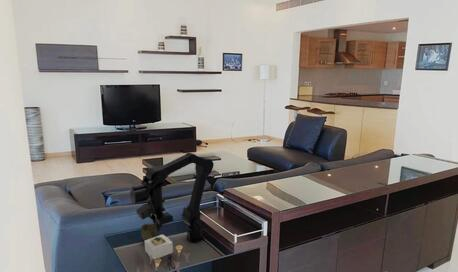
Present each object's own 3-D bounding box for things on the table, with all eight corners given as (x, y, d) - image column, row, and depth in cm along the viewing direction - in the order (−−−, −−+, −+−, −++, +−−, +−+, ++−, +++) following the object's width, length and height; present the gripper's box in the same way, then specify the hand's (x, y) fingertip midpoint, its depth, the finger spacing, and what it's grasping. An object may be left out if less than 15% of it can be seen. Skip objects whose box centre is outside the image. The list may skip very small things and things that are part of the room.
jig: (163, 244, 153) (162, 234, 152) (172, 252, 147) (172, 242, 146) (145, 250, 148) (144, 240, 147) (153, 259, 141) (153, 249, 140)
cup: (153, 247, 151) (152, 230, 149) (138, 245, 153) (137, 229, 151) (160, 239, 158) (159, 223, 157) (145, 237, 160) (144, 222, 158)
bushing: (160, 248, 150) (160, 235, 149) (165, 252, 147) (164, 239, 146) (152, 251, 148) (152, 238, 146) (156, 255, 145) (156, 242, 143)
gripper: (129, 195, 145) (131, 228, 148) (147, 209, 130) (149, 245, 133) (153, 189, 151) (155, 221, 154) (172, 202, 137) (174, 237, 140)
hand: (157, 231), depth 145 cm, fingers closed
